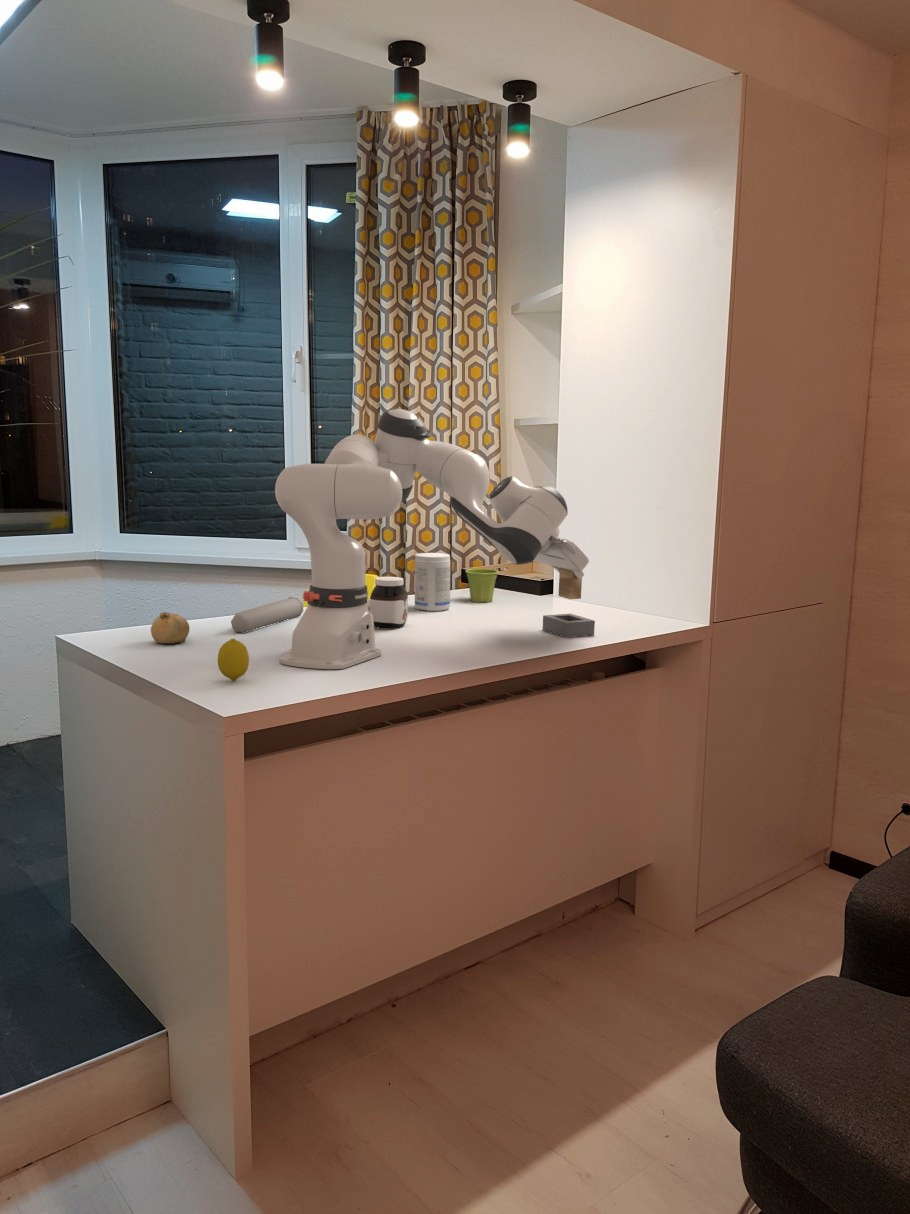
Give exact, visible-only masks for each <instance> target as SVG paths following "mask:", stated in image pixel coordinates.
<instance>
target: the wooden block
mask: <svg viewBox="0 0 910 1214" xmlns="http://www.w3.org/2000/svg"><path fill="white" fill-rule="evenodd" d="M582 583H583V577H582V578H581V579H577V578H575V577H574V576H573V571H571V570H569V569H565V568H561V567H560V573H559V576H558V597H561V598H565V599H567V600H581V599H582V586H583V585H582Z"/></svg>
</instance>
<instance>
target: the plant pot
mask: <svg viewBox="0 0 910 1214" xmlns="http://www.w3.org/2000/svg"><path fill="white" fill-rule="evenodd" d="M465 573H466V577H467V581H468V586H469V587H468V588H469V595H470V601H472V602H473V601H476V602H475V603H482V602H485V603H490V601H491V602H493V597H494V591H495V585H496V579H497V577H498V574H499V573H500V571H499V570H497V569H491V568H470V569H466V570H465Z"/></svg>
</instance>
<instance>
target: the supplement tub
mask: <svg viewBox="0 0 910 1214" xmlns="http://www.w3.org/2000/svg"><path fill="white" fill-rule="evenodd" d="M414 556H415V557H414V558H415V559H414V607H415V609H417V610H418V609H421V610H420V611H422V610H427V611H426V612H443V610H444V611H447V610H449V609H450V607H451V557H450V556H451V555H450V554H449V553H442V552H420V553H416V554H415V555H414Z"/></svg>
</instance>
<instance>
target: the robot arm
mask: <svg viewBox="0 0 910 1214" xmlns="http://www.w3.org/2000/svg"><path fill="white" fill-rule="evenodd" d="M430 437H432V433H431V431H430V430H429V429H428V428H427V427H426V424H425V423H424V422H423V420H422V419H421V418H420V417H419V416H418V415H417V414H415V413H413V412H411V411H410V410H406V409H401V408H395V409H388V410H386V411H384V412H382V414H381V416H380V418H379V420H378V422H377V431H376V435H375V437H374V441H373V440H372V439H371V438H369V437H368V436H366V435H364V434H359V433H358V434H357V433H356V434H351V435H348V436H345V437H344V438H342V439H341V440H339V442H337V444H335V446H334V447H333V448H332V449H331V451H330V453H329V455H328V456H327V458H326V459H325V461H324V463H303V464H296V465H291V466H287V467H285V468H284V469H282V471H281V472H280V474H279V475H278V476H277V479H276V482H275V486H274V493H275V499H276V502H277V503H278V505H279V507H280V509H281V510H282V511H283V512H284V513H285V514H286V515H288V516H289V517H290V518H291V519H292V520H293V521H295V522H296V524H297V525H298V526H299V528H300V530H301V531H302V532H303V534H304V537H305V538H306V542H307V544H308V547H309V548H308V549H309V555H310V564H311V565H310V566H311V568H310V569H311V584H310V586H309V591H307V590H304V591H303V594H302V600H303V602H306V603H307V606H306V609H305V611H303V612H304V613H302V616H301V618H300V619H299V621H298V623H297V624H296V626H295V628H294V629H293V632H292V637H291V648H290V649H289V650H288V651H286V652H285V653H284V654H283V655H282V656H281V657H280V658H279V663H280V664H283V665H286V666H290V667H291V666H292V667H298V668H305V669H306V668H307V669H317V670H342V669H346V668H349V667H352V666H355V665H357V664H361V663H363V662H367V661H369V660H371V659H375V658H378V657H380V656H382V651H381V649H379V648H376V641H375V626H374V620H373V615H372V614H371V613H370V612H369V610H368V608H367V606H366V603H367V601H368V595H369V592H368V586H367V585H366V550H365V548H364V546H363V545H362V544H361V543H360V542H359V541H358V540H356V539H355V538H353V537H352V536H349V535H348V534H345V533H344V532H342V531H341V530H340V529H339V527H338V524H337V520H339V519H340V520H341V519H342V520H344V519H345V520H364V521H365V520H366V521H367V520H377V519H381V518H387V517H392V516H393V515H394V514H396V512H397V510H398V509H399V507H400V506H401V504H402V502H403V501H405V500H407V499H408V498H409V497H410V494H411V492H412V490H413V487H414V484H413V483H414V479H415V476H416V473H419V474H420V475H421V477H423V478H424V479H425V480H426V481H427V482H429V484H431V485H433V486H435V488H437V489H439V490H441V491H442V492H445V493H446V494H448V495H449V496H450V501H449V504H450V506H451V507H452V510H453V512H454V513H455V514H456V515H457V516H458V517H459V518H460V520H462V521H463V522H464V523H465V524H466V525H467V526H468V527H470V528H471V529H472V530H473V531H475V532H476V533H477V534H478V535H479V536H481V537H482V538H483V539H484V540H486V541H487V542H488V543H489V544H490V545H491V546H492V547H493V548H495V550H497V551H498V552H499V554H501V556H502V557H503V558H504V559H505V560H507V561H508V562H510V563H511V564H513V565H518V566H519V565H526V564H527V565H528V564H531V563H533V562H534V561H535V562H538V563H541V564H546V565H549V566H550V567H552V568H553V569H554V570H555V571H557V572H558V573H559V574H560V567H561V568H565V569H569V570H571V571H573V576H574V577H575V578H577V579H581V578H582V579H583V577H584V576H585V573H584V572H583V571H584V569H585V568H586V567H587V566H588V565H589V563H590V560H589V557H588V556H587V554H585V553H584V552H583V551H582V550H581V549H580V547H579V546H578V545H577V544H575V542H573V541H572V540H571V539H567V538H564V537H560V536H559V534H560V526H561V525H562V523H563V522H564V520H565V519H566V517H567V516H568V512H569V510H568V505H567V502H566V499H565V498H564V496H563V495H562V494H561V493H560V492H559V490H557V489H556V488H555V487H553V486H551V485H539V486H534V487H533V486H529V485H526V484H525V483H523V482H521V481H520V480H519V479H518V478H517V477H515V476H513V475H511V476H507V477H505V478H504V479H502V480H501V481H500V482H498V484H496V486H495V487H494V488H493V490H492V491H491V492H490V494H489V498H488V499H489V502H490V504H491V506H492V508H493V510H494V511H495V512H496V514H497V515H498V517H499V518H500V520H501V521H502V522H501V523H498V522H497V521H496V520H495V519H493V518H492V517H490V515H488V514H487V513H485V512H484V511H483V510H482V508H483V503H484V501H485V498H486V496H487V494H488V492H489V488H490V482H491V481H490V480H491V479H490V478H491V477H490V470H489V467H488V465H487V463H486V461H485V460H484V459H483V458H482V457H481V456H479V455H478V454H476V453H475V452H472V451H470V450H468V449H465V448H464V447H460V446H458V445H455V444H452V443H450V442H444V441H440V440H431V439H430Z"/></svg>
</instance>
